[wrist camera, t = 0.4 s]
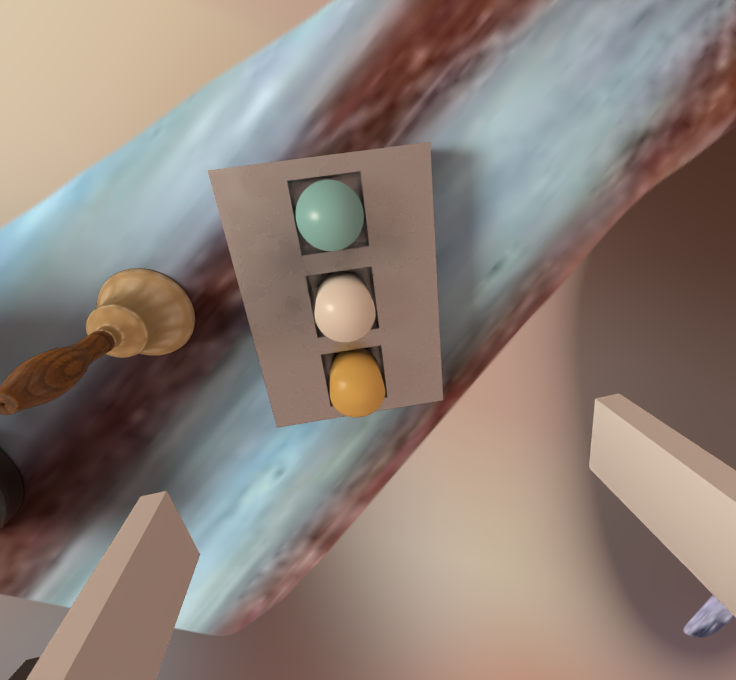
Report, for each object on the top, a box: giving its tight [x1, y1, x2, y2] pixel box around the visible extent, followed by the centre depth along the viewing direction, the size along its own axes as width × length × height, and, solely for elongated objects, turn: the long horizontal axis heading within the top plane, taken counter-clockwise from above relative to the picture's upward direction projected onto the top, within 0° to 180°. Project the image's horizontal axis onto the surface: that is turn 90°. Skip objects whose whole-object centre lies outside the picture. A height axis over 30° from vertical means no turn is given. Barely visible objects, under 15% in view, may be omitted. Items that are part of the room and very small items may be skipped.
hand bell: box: [0, 269, 195, 415], centre depth 25 cm, size 8×8×16 cm
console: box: [208, 142, 443, 427], centre depth 31 cm, size 16×22×4 cm
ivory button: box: [315, 272, 376, 342], centre depth 29 cm, size 5×5×4 cm
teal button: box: [296, 180, 364, 251], centre depth 26 cm, size 5×5×4 cm
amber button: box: [330, 348, 385, 417], centre depth 31 cm, size 5×5×4 cm
